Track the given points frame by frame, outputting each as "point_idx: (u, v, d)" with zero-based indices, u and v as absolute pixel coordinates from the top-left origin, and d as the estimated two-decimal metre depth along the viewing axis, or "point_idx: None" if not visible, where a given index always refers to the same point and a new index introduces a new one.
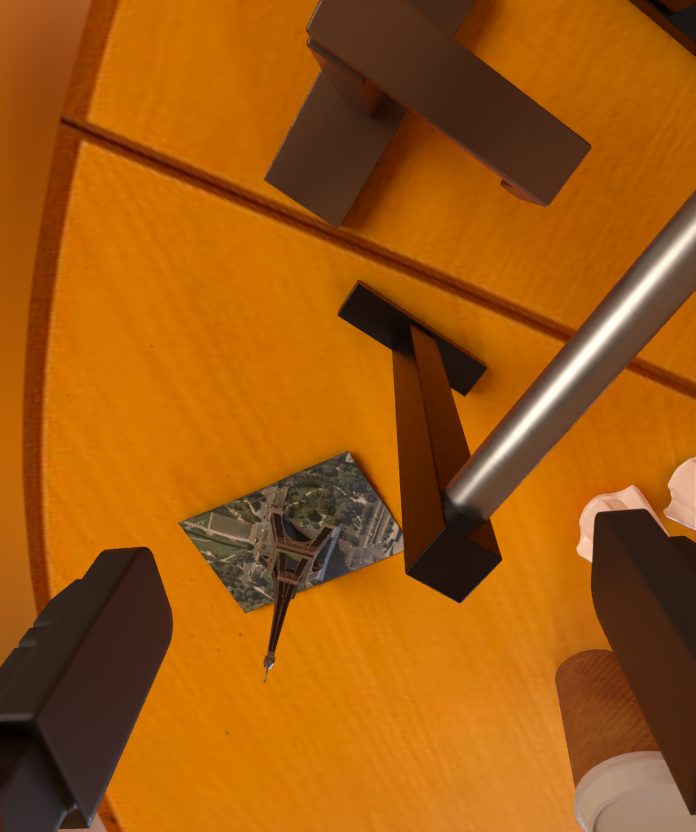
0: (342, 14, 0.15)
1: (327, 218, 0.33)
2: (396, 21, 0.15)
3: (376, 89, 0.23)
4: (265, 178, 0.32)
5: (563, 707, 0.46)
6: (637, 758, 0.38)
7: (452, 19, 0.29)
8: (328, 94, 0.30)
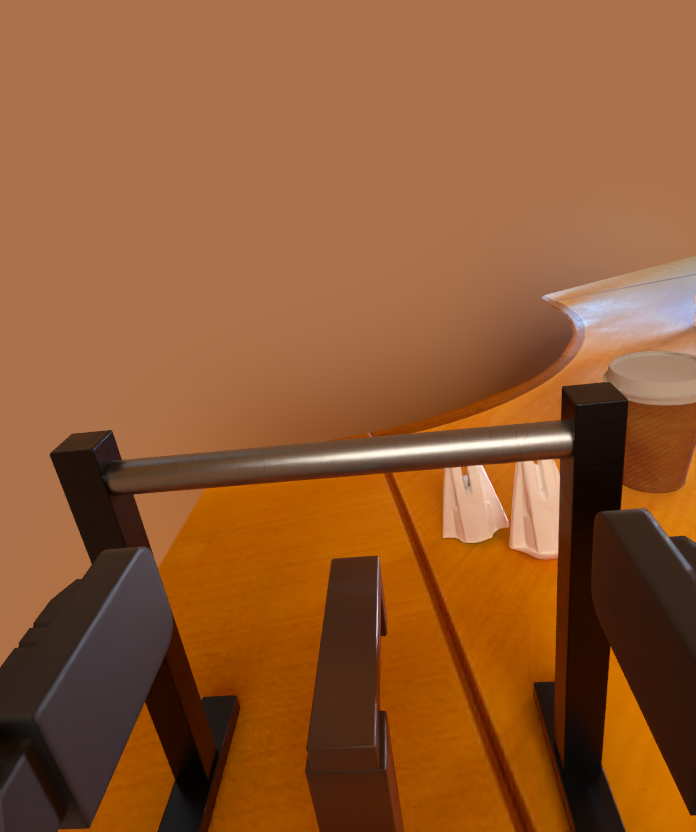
0: (347, 725, 0.17)
1: None
2: (329, 688, 0.18)
3: None
4: None
5: (684, 460, 0.54)
6: (640, 398, 0.51)
7: None
8: None
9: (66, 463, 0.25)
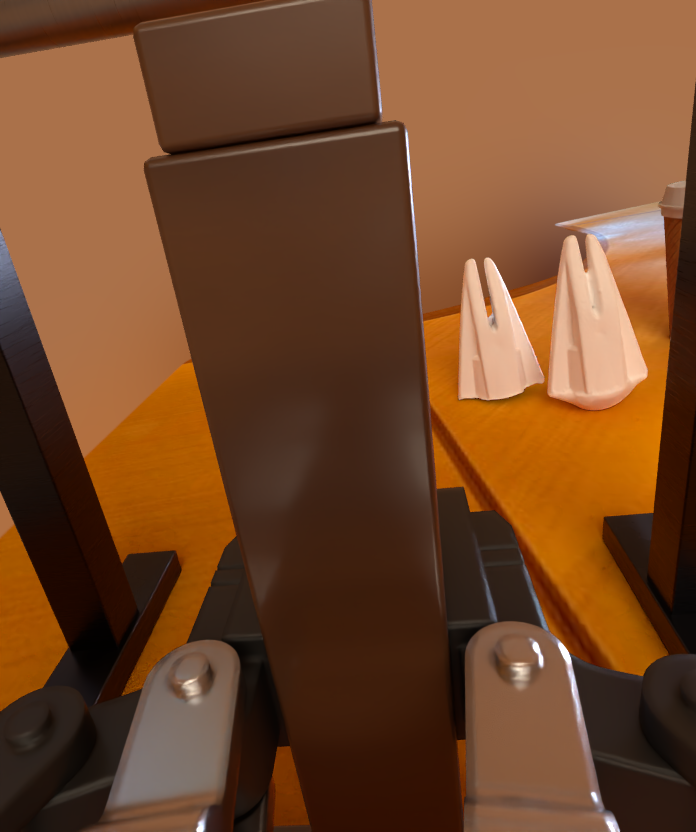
0: None
1: None
2: None
3: None
4: None
5: None
6: None
7: None
8: None
9: None
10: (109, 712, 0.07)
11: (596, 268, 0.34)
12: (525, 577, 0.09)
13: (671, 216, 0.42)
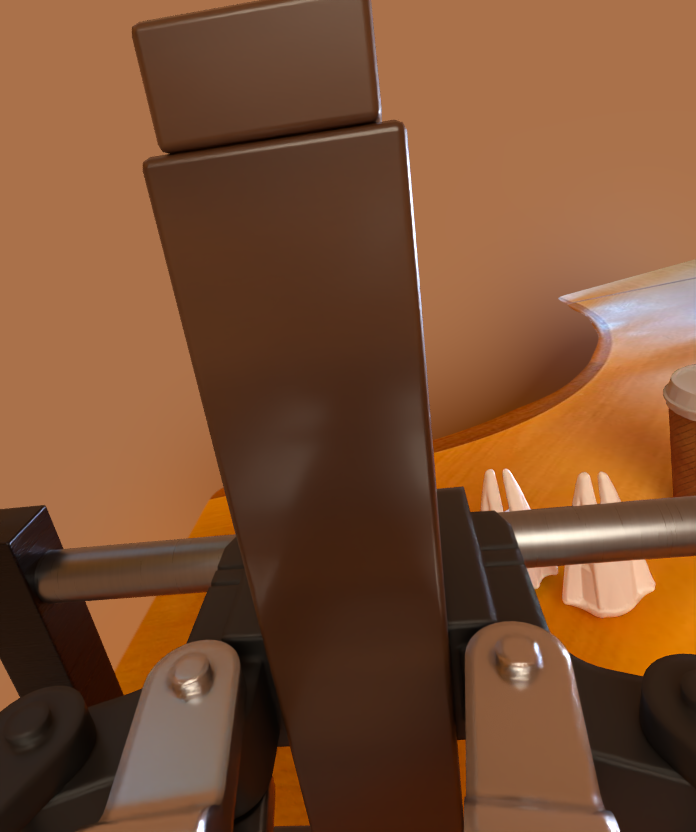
0: None
1: None
2: None
3: None
4: None
5: None
6: None
7: None
8: None
9: None
10: (110, 712, 0.07)
11: None
12: (525, 577, 0.09)
13: (675, 412, 0.46)
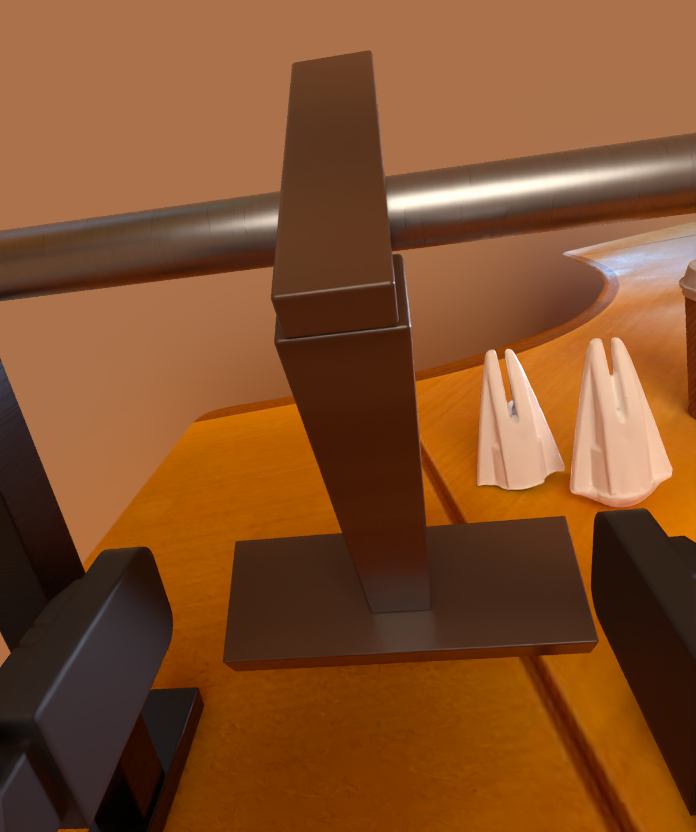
0: (340, 259, 0.09)
1: (566, 534, 0.23)
2: (304, 217, 0.10)
3: None
4: (595, 639, 0.21)
5: None
6: None
7: (285, 546, 0.24)
8: (439, 624, 0.22)
9: None
10: None
11: (622, 373, 0.33)
12: None
13: (693, 299, 0.42)
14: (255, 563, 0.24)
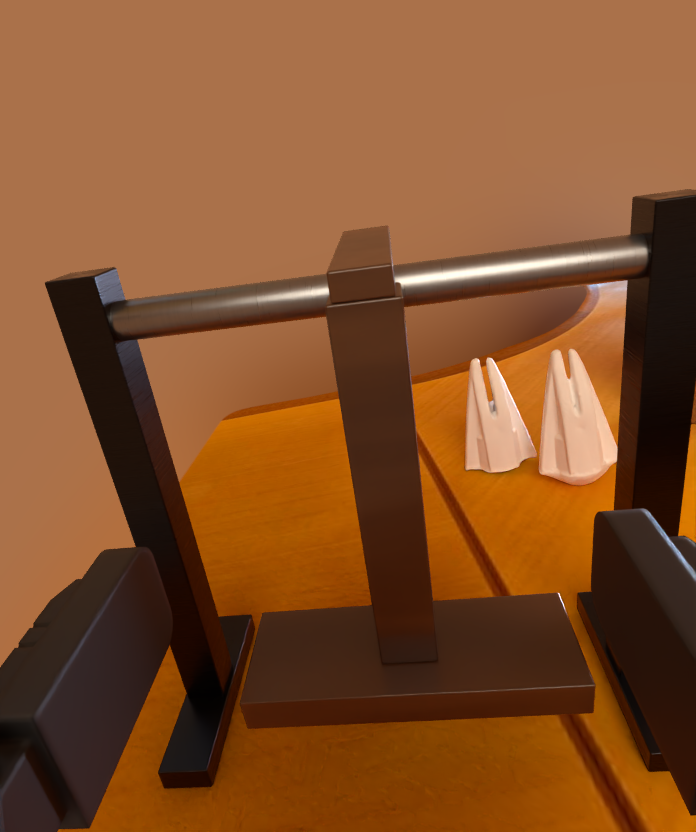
0: (364, 262, 0.17)
1: (559, 605, 0.25)
2: (346, 257, 0.19)
3: None
4: (591, 683, 0.22)
5: None
6: None
7: (306, 616, 0.27)
8: (445, 672, 0.23)
9: (64, 294, 0.22)
10: None
11: (576, 377, 0.42)
12: None
13: None
14: (278, 627, 0.27)
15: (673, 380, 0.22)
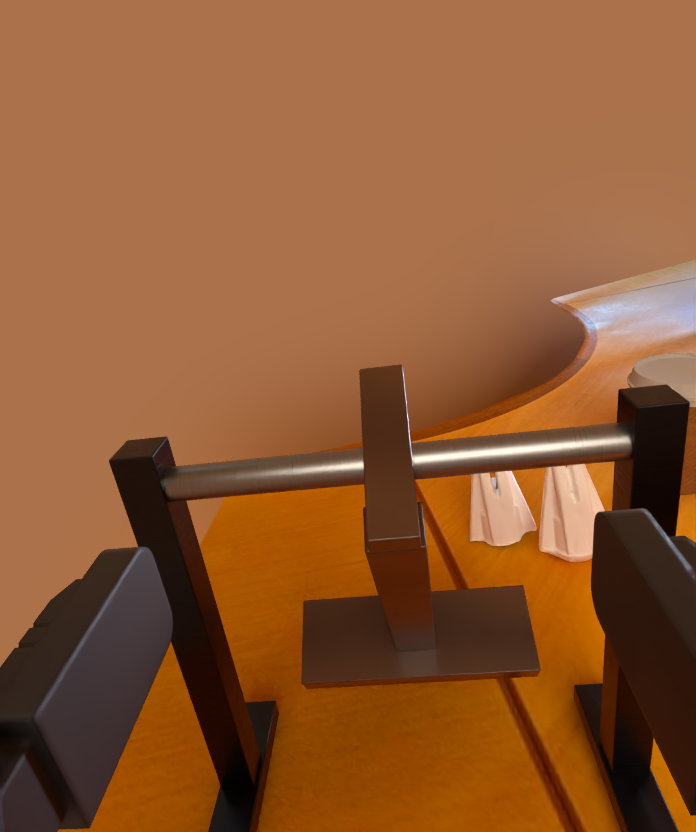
0: (396, 521, 0.21)
1: (523, 598, 0.35)
2: (377, 492, 0.22)
3: None
4: (538, 669, 0.33)
5: None
6: None
7: (337, 605, 0.37)
8: (440, 658, 0.34)
9: (125, 469, 0.25)
10: None
11: (573, 467, 0.45)
12: None
13: None
14: (318, 616, 0.36)
15: None
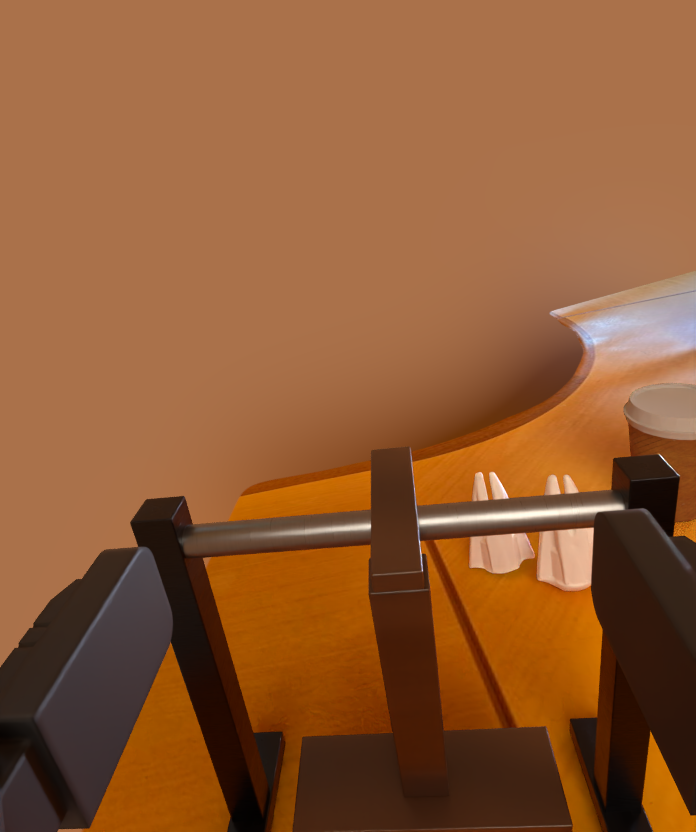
0: (399, 559, 0.22)
1: (546, 740, 0.31)
2: (383, 537, 0.23)
3: None
4: (570, 824, 0.28)
5: None
6: (661, 432, 0.53)
7: (339, 742, 0.33)
8: (455, 808, 0.29)
9: (145, 531, 0.26)
10: None
11: None
12: None
13: (632, 425, 0.55)
14: (317, 754, 0.32)
15: None
